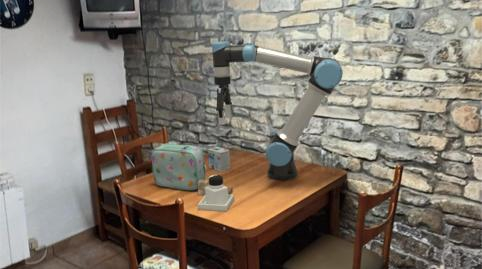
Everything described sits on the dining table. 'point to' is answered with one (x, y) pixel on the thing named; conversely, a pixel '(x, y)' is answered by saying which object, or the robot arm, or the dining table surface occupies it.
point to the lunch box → (178, 166)
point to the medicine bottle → (216, 191)
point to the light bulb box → (219, 159)
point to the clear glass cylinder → (202, 186)
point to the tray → (205, 206)
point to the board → (230, 190)
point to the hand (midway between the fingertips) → (225, 121)
